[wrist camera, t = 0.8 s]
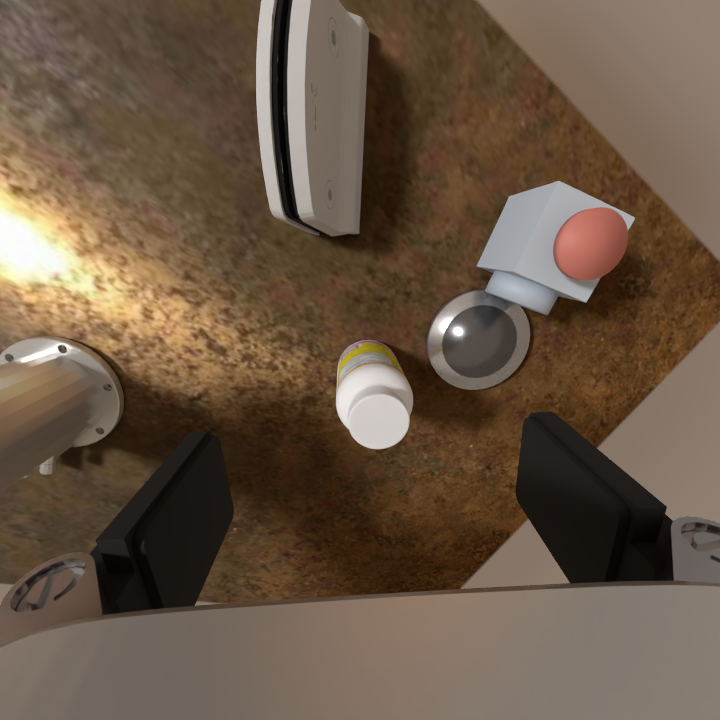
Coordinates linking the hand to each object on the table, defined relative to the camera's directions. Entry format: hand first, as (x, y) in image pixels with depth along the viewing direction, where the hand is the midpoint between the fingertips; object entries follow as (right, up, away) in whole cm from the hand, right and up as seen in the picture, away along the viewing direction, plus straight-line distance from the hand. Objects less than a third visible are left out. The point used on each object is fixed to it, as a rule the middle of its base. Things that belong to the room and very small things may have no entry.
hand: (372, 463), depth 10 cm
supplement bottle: (0, +2, +27) cm, 28 cm away
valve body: (+16, +15, +24) cm, 32 cm away
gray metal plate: (+12, +5, +27) cm, 30 cm away
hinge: (-4, +23, +21) cm, 31 cm away
